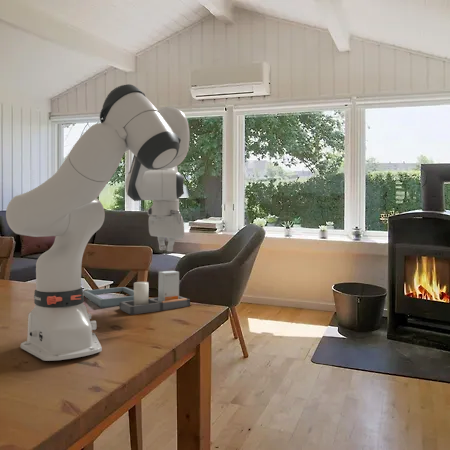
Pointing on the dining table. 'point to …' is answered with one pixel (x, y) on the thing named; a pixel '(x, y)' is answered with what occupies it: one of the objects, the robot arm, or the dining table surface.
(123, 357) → the dining table surface
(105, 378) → the dining table surface
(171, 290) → the skincare box
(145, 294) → the ceramic jar
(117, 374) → the dining table surface
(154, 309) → the slot holder
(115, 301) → the slate tray
